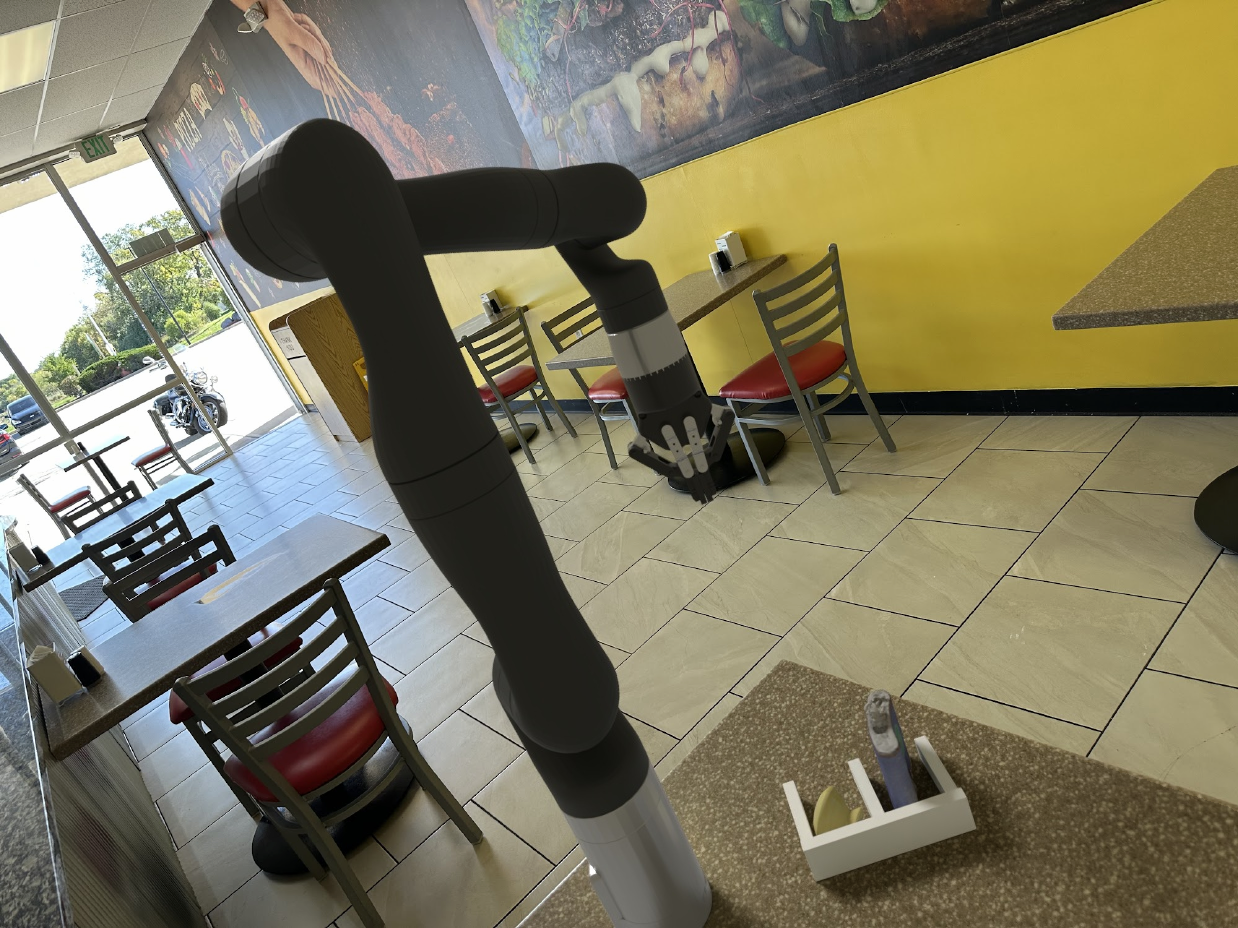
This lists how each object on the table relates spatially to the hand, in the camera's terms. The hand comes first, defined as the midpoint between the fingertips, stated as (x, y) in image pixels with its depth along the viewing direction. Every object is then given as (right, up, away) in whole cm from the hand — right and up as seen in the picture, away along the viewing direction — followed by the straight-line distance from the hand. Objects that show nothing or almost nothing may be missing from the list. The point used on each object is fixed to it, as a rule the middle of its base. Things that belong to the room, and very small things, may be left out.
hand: (707, 500), depth 90 cm
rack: (+16, -31, -11) cm, 36 cm away
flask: (+19, -29, -9) cm, 36 cm away
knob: (+12, -32, -11) cm, 37 cm away
